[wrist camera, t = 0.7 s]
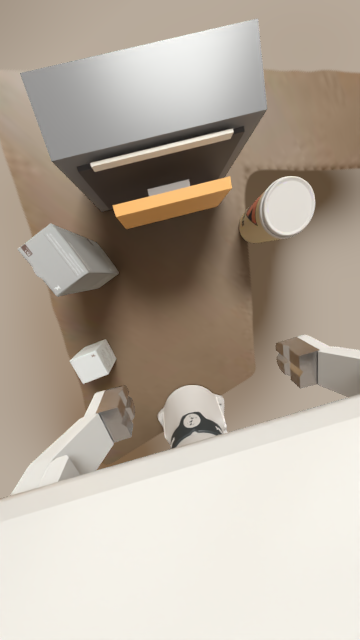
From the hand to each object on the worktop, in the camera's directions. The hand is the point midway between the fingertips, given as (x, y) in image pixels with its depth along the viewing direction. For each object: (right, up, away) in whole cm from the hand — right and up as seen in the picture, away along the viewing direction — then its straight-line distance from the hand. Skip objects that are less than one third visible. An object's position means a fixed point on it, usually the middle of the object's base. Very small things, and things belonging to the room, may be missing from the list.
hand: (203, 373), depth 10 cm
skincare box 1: (-20, +15, +32) cm, 40 cm away
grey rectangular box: (-6, +33, +28) cm, 44 cm away
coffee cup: (+16, +24, +33) cm, 43 cm away
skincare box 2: (-21, -5, +37) cm, 43 cm away
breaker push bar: (-3, +22, +21) cm, 31 cm away
